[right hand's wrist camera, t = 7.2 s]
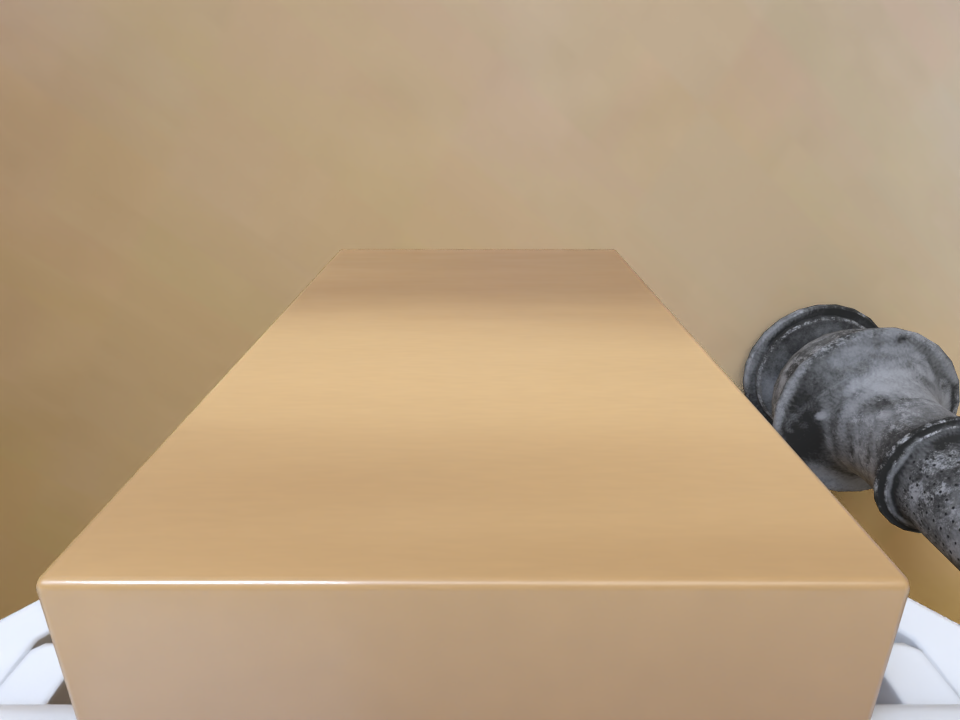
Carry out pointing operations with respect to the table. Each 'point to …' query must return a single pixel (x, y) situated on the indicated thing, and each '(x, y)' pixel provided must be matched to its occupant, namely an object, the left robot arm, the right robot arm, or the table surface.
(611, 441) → the box
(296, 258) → the table surface
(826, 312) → the grey chess piece
